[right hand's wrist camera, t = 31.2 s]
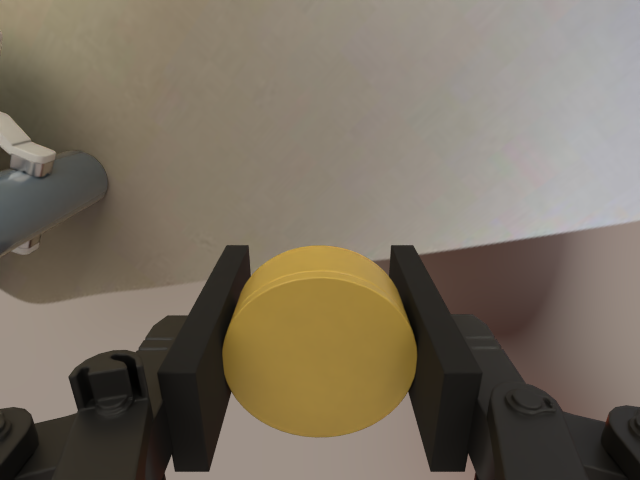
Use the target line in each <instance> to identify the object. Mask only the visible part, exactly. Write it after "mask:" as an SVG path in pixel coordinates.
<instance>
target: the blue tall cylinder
mask: <svg viewBox="0 0 640 480" xmlns="http://www.w3.org/2000/svg"><path fill="white" fill-rule="evenodd" d="M107 187H108V179H107V175H106V172H105V170H104V168H103V167H102V165H101V164H100V163H99V162H98V161H97V160H96V159H95V158H94V157H93V156H91V155H89V154H87V153H85V152H82V151H78V150H69V151H65V152H62V153H58V154H56V155H55V161H54V165H53V170H52V174H46V175H45V176H44V177H34V176H30V175H28V174H27V173H26V172H25V171H21V172H20V171H17V170H14V169H12V168H9V169H6V170H3V171H0V257H2V256H4V255H5V254H7V253H9V252H11V251H12V250H14V249H16V248H18V247H19V246H21V245H23V244H25V243H26V242H28V241H30V240H32V239H33V238H35V237H37V236H38V235H40V234H42V233H44V232H45V231H47V230H49V229H51V228H52V227H54V226H56V225H58V224H59V223H61V222H63V221H65V220H66V219H68V218H70V217H72V216H73V215H75V214H77V213H79V212H80V211H82V210H84V209H86V208H87V207H89V206H91V205H93V204H94V203H96V202H98V201H99V200H101V199H102V198H103V197H104V195H105V193H106V191H107Z"/></svg>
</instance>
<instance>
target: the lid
mask: <svg viewBox="0 0 640 480" xmlns="http://www.w3.org/2000/svg"><path fill="white" fill-rule="evenodd" d="M222 357H223V367H224V375H225V378H226V381H227V383H228V386H229V388H230V390H231V392H232V393H233V395H234V396H235V398H236V399H237V400H238V402H239V403H240V404H241V405H242V406H243V407H244V408H245V409H246V410H247V411H248V412H249V413H250V414H251V415H253V416H254V417H255V418H257V419H258V420H260V421H261V422H263V423H265V424H267V425H269V426H270V427H273V428H275V429H278V430H280V431H283V432H286V433H290V434H294V435H299V436H305V437H334V436H341V435H345V434H350V433H353V432H356V431H359V430H362V429H364V428H367V427H369V426H371V425H373V424H375V423H376V422H378V421H380V420H381V419H383V418H384V417H385V416H387V415H388V414H389V413H391V412H392V411H393V410H394V409H395V408H396V407H397V406H398V405H399V403H400V402H401V401H402V400H403V398H404V397H405V396H406V394H407V392H408V391H409V389H410V387H411V385H412V382H413V380H414V377H415V373H416V364H417V345H416V341H415V336H414V333H413V331H412V328H411V325H410V322H409V320H408V317H407V314H406V311H405V309H404V306H403V303H402V300H401V298H400V295H399V293H398V290H397V288H396V287H395V285H394V283H393V282H392V280H391V279H390V278H389V276H388V275H387V274H386V273H385V272H384V271H383V270H382V269H381V268H380V267H379V266H378V265H377V264H375V263H374V262H372V261H371V260H369V259H368V258H366V257H364V256H362V255H360V254H358V253H356V252H353V251H350V250H348V249H343V248H339V247H333V246H307V247H300V248H296V249H292V250H289V251H286V252H284V253H281V254H279V255H277V256H275V257H274V258H272V259H270V260H268V261H267V262H266V263H264V264H263V265H262V266H260V267H259V268H258V269H257V270H256V271H255V272H254V273H253V274H252V276H251V277H250V278H249V280H248V281H247V282H246V284H245V286H244V288H243V289H242V291H241V294H240V297H239V300H238V302H237V305H236V308H235V311H234V313H233V316H232V319H231V322H230V324H229V327H228V330H227V333H226V335H225V338H224V343H223V348H222Z"/></svg>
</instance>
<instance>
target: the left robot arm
mask: <svg viewBox="0 0 640 480" xmlns="http://www.w3.org/2000/svg"><path fill="white" fill-rule="evenodd" d="M2 37H3V36H2V32H1V31H0V54H1V47H2ZM0 147H1V148H2V149H4V150H5V151H6V152H7V153H8V154H9V155H11V160H10V168H12V169H14V170H17V171H20V172H21V171H25V172H26V173H27V174H28V175H30V176H34V177H44V176H45V175H46V174H52V170H53V165H54V161H55V155H56V152H55V151H54V150H51V149H49V148H46V147H44V146H41V145H39V144H36V143H34V142H31V139H30V138H29V137H28V136H27V134H26V133H25V132H24V131H23V130H22V129H21V128H20V127H19V126H18V125H17V124H16V123H15V122H14V120H13V119H12V118H11V117H10V116H9V115H8V114H5V113H3V112H0ZM40 237H41V234H40V235H38V236H37V237H35V238H33V239H32V240H30V241H28V242H26V243H25V244H23V245H21V246H19V247H18V248H16V249H14V250H12V251H11V252H14V253H17V254H20V255H27V254H30V253H31V252H33V251H35V250H36V249H38V248H39V243H40Z"/></svg>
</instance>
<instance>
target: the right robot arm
mask: <svg viewBox="0 0 640 480" xmlns="http://www.w3.org/2000/svg"><path fill="white" fill-rule="evenodd" d="M250 277H251V274H250V259H249V245H227V246H226V247H225V249H224V251H223V253H222V255H221V257H220V258H219V260H218V262H217V264H216V266H215V268H214V269H213V271H212V273H211V275H210V277H209V279H208V280H207V282H206V284H205V286H204V288H203V289H202V291H201V293H200V295H199V297H198V299H197V300H196V302H195V304H194V306H193V308H192V310H191V312H190V313H189V315H188V316H166V317H165V318H164V319H162V320H161V321H159V322H158V323H157V324H155V325H154V326H153V327H152V329H151V330H150V332H149V333H148V335H147V336H146V339H145V340H144V341H143V342H142V344H141V346H140V347H139V350H138V351H136V352H132V351H128V350H113V351H109V352H105V353H101V354H98V355H96V356H94V357H92V358H89V359H87V360H85V361H84V362H83V363H81V364H80V365H78V366H77V367H76V368H75V369H74V370H73V371H72V373H71V374H70V375H69V380H70V384H71V388H72V391H73V395H74V398H75V402H76V405H77V409H78V412H77V413H76V414H73V415H69V416H66V417H61V418H57V419H53V420H48V421H44V422H40V423H36V424H34V422H33V419H32V416H31V414H30V413H29V412H28V411H27V410H25V409H22V408H16V407H11V408H4V409H0V480H166V478H165V470H166V468H167V465H168V463H169V460H170V457H171V455H172V458H173V463H174V469H175V472H209V470H210V466H211V463H212V459H213V455H214V452H215V448H216V445H217V441H218V438H219V434H220V431H221V427H222V423H223V420H224V416H225V413H226V409H227V406H228V402H229V398H230V395H231V390H230V388H229V386H228V383H227V381H226V378H225V375H224V367H223V357H222V348H223V343H224V338H225V335H226V333H227V330H228V327H229V324H230V322H231V319H232V316H233V313H234V311H235V308H236V305H237V302H238V300H239V297H240V294H241V291H242V289H243V288H244V286H245V284H246V282H247V281H248V280H249V278H250ZM389 278H390V279H391V280H392V282H393V283H394V285H395V287H396V288H397V290H398V293H399V295H400V298H401V300H402V303H403V306H404V309H405V311H406V314H407V317H408V320H409V322H410V325H411V328H412V331H413V333H414V336H415V341H416V345H417V364H416V373H415V377H414V380H413V382H412V385H411V387H410V389H409V391H408V392H409V396H410V399H411V403H412V406H413V410H414V414H415V417H416V421H417V424H418V428H419V431H420V435H421V439H422V442H423V446H424V449H425V453H426V457H427V460H428V464H429V467H430V471H431V472H464V471H465V467H466V462H467V456H468V453H469V456H470V459H471V461H472V464H473V466H474V469H475V471H476V473H475V478H474V480H640V407H634V406H627V405H626V406H620V407H615V408H614V409H613V410H612V411H610V412H609V415H608V418H607V421H606V422H603V421H599V420H595V419H590V418H586V417H582V416H577V415H573V414H570V413H567V412H563V411H562V409H561V408H560V406H559V405H558V403H557V401H556V400H555V399H553V398H552V397H551V396H550V395H549V394H547V393H546V392H545V391H543V390H541V389H539V388H537V387H535V386H533V385H529V384H526V383H525V381H524V380H523V378H522V377H521V375H520V374H519V372H518V371H517V369H516V368H515V366H514V365H513V363H512V362H511V361H510V359H509V357H508V356H507V354H506V353H505V351H504V350H503V349H501V345H500V344H499V342H498V341H497V339H495V337H494V335H493V334H492V332H491V331H490V329H489V328H488V326H487V325H486V324H485V323H484V322H482V321H481V320H480V319H478V318H477V317H475V316H474V315H473V314H450V312H449V310H448V308H447V306H446V305H445V303H444V301H443V299H442V297H441V295H440V294H439V292H438V290H437V288H436V286H435V284H434V283H433V281H432V279H431V277H430V275H429V274H428V272H427V270H426V268H425V266H424V264H423V263H422V261H421V259H420V257H419V255H418V253H417V252H416V250H415V248H414V246H413V245H391V256H390V270H389Z"/></svg>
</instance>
